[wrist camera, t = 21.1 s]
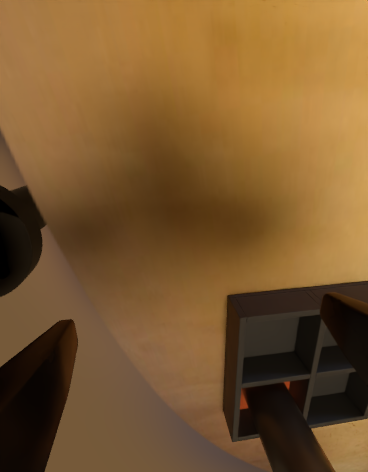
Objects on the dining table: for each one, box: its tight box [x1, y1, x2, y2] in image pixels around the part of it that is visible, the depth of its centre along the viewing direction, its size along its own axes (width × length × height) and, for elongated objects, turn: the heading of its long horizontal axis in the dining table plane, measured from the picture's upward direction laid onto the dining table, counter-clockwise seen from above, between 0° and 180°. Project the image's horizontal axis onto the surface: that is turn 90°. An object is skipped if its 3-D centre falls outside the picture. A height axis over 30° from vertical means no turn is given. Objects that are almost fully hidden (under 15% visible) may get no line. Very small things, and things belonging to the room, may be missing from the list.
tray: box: [223, 281, 368, 442], centre depth 26 cm, size 16×16×4 cm
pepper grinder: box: [242, 382, 335, 472], centre depth 22 cm, size 5×5×13 cm
